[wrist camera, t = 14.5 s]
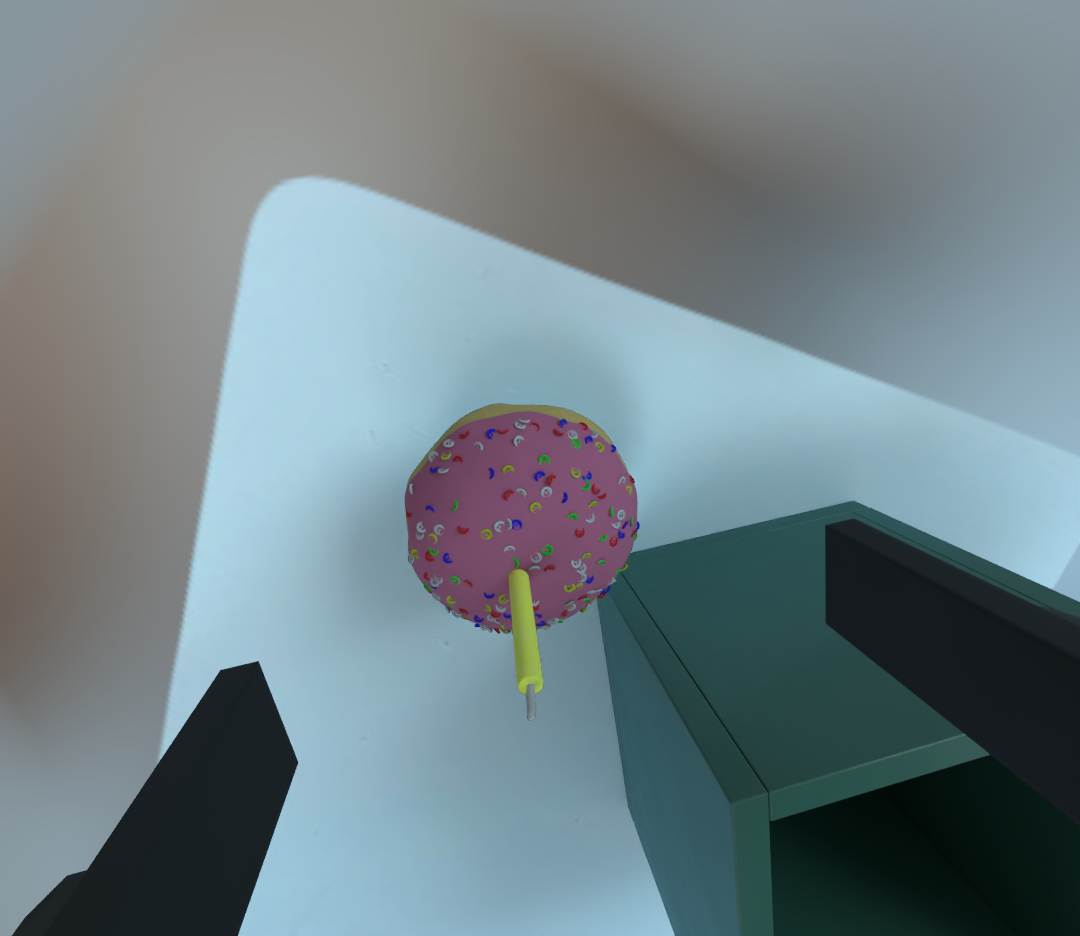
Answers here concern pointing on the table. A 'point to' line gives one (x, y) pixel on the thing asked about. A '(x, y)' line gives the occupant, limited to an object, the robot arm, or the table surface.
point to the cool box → (814, 755)
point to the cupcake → (520, 522)
